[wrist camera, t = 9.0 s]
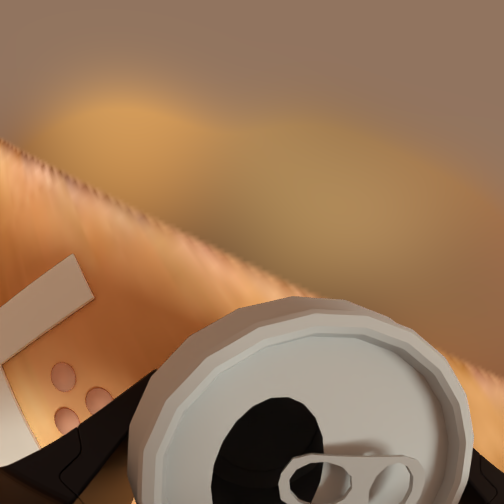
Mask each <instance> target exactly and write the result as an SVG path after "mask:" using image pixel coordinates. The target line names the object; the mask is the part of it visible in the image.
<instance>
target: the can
mask: <svg viewBox="0 0 504 504" xmlns="http://www.w3.org/2000/svg"><path fill="white" fill-rule="evenodd" d="M473 441H474V434H473V428H472V422H471V416H470V411H469V405H468V400H467V396H466V393H465V392H464V390H463V388H462V386H461V384H460V382H459V381H458V379H457V377H456V375H455V374H454V372H453V370H452V368H451V367H450V365H449V363H448V361H447V360H446V358H445V357H444V356H443V355H441V354H440V353H439V352H438V351H437V350H436V349H435V348H433V347H432V346H431V345H430V344H429V343H428V342H426V341H425V340H424V339H423V338H422V337H421V336H419V335H418V334H417V333H416V332H415V331H413V330H412V329H410V328H408V327H405V326H402V325H400V324H397V323H395V322H394V321H393V320H392V319H390V318H389V317H387V316H384V315H382V314H379V313H376V312H374V311H371V310H368V309H366V308H364V307H361V306H359V305H356V304H353V303H351V302H348V301H346V300H339V299H323V298H309V297H295V296H292V297H287V298H283V299H279V300H274V301H270V302H266V303H261V304H257V305H252V306H248V307H243V308H239V309H237V310H235V311H233V312H232V313H230V314H228V315H226V316H225V317H223V318H221V319H219V320H217V321H216V322H214V323H212V324H210V325H209V326H207V327H205V328H203V329H201V330H200V331H198V332H196V333H194V334H192V335H191V336H189V337H188V338H187V339H186V340H185V341H184V342H183V343H182V344H181V345H180V347H179V348H178V349H177V350H176V351H175V352H174V353H173V354H172V355H171V356H170V357H169V358H168V359H167V360H166V361H165V363H164V364H163V365H162V366H161V367H160V368H159V369H158V370H157V371H156V372H155V373H154V374H153V375H152V376H151V378H150V380H149V382H148V385H147V387H146V389H145V391H144V393H143V396H142V398H141V400H140V402H139V405H138V407H137V409H136V411H135V414H134V416H133V418H132V420H131V423H130V425H129V440H128V460H127V477H128V480H129V483H130V486H131V489H132V492H133V495H134V498H135V501H136V504H458V503H459V500H460V498H461V496H462V493H463V491H464V489H465V486H466V484H467V481H468V478H469V472H470V465H471V458H472V450H473Z"/></svg>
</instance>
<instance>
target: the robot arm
mask: <svg viewBox="0 0 504 504" xmlns="http://www.w3.org/2000/svg"><path fill="white" fill-rule="evenodd" d="M157 370H158V369H155V370H153V371H151V372H150V373H149V374H147V375H146V376H145V377H143V378H142V379H141V380H139V381H138V382H137V383H135V384H134V385H133V386H131V387H130V388H129V389H127V390H126V391H125V392H123V393H122V394H121V395H119V396H118V397H117V398H115V399H114V400H113V401H111V402H110V403H108V404H107V405H106V406H104V407H103V408H102V409H100V410H99V411H98V412H96V413H95V414H93V415H92V416H91V417H89V418H88V419H86V420H85V421H84V422H82V423H81V424H79V425H78V427H75V428H74V429H72V430H71V431H69V432H68V433H67V434H65V435H64V436H62V437H61V438H59V439H57V440H56V441H54V442H52V443H51V444H49V445H47V446H45V447H44V448H42V449H40V450H38V451H36V452H34V453H32V454H30V455H28V456H26V457H24V458H22V459H20V460H18V461H16V462H14V463H11V464H9V465H6V466H3V467H0V504H131V503H132V501H133V498H134V495H133V492H132V489H131V486H130V483H129V480H128V477H127V460H128V440H129V425H130V423H131V420H132V418H133V416H134V414H135V411H136V409H137V407H138V405H139V402H140V400H141V398H142V396H143V393H144V391H145V389H146V387H147V385H148V382H149V380H150V378H151V376H152V375H153V374H154V373H155V372H156V371H157ZM458 504H504V473H503V472H501V471H500V470H499V469H497V468H496V467H495V466H494V465H492V464H491V463H490V462H489V461H488V460H486V459H485V458H484V457H483V456H482V455H480V454H479V453H478V452H477V451H476V450H475V449H474V448H473V450H472V458H471V465H470V472H469V478H468V481H467V484H466V486H465V489H464V491H463V493H462V496H461V498H460V500H459V503H458Z"/></svg>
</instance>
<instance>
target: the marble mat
mask: <svg viewBox="0 0 504 504" xmlns="http://www.w3.org/2000/svg"><path fill="white" fill-rule="evenodd" d="M93 299H95V297H94V295H93V293H92V291H91V289H90V287H89V285H88V283H87V281H86V279H85V277H84V275H83V273H82V270H81V268H80V266H79V264H78V262H77V259H76V257H75V255H74V254H73V253H72V254H71V255H70V256H68V257H67V258H65V259H64V260H62V261H61V262H60V263H58V264H57V265H55V266H54V267H53V268H51V269H50V270H49V271H47V272H46V273H44V274H43V275H42V276H40V277H39V278H38V279H36V280H35V281H34V282H32V283H31V284H30V285H28V286H27V287H26V288H24V289H23V290H22V291H21V292H19V293H18V294H17V295H15V296H14V297H13V298H12V299H10V300H9V301H8V302H7V303H5V304H4V305H3V306H2V307H0V467H3V466H6V465H9V464H11V463H14V462H16V461H18V460H20V459H22V458H24V457H26V456H28V455H30V454H32V453H34V452H36V451H38V450H40V449H42V448H41V447H40V445H39V443H38V442H37V440H36V438H35V436H34V434H33V432H32V431H31V429H30V427H29V425H28V423H27V421H26V419H25V417H24V415H23V413H22V411H21V409H20V407H19V405H18V403H17V400H16V398H15V396H14V394H13V392H12V389H11V387H10V385H9V382H8V380H7V377H6V375H5V372H4V370H3V367H2V364H4V363H5V362H6V361H8V360H9V359H10V358H12V357H13V356H14V355H16V354H17V353H18V352H20V351H21V350H22V349H24V348H25V347H27V346H28V345H29V344H31V343H32V342H33V341H35V340H36V339H38V338H39V337H40V336H42V335H43V334H45V333H46V332H47V331H49V330H50V329H52V328H53V327H54V326H56V325H57V324H59V323H60V322H61V321H63V320H64V319H66V318H67V317H69V316H70V315H71V314H73V313H74V312H76V311H77V310H79V309H80V308H82V307H83V306H85V305H86V304H87V303H89V302H90V301H92V300H93ZM51 379H52V383H53V385H54V386H55V387H56V388H57V389H58V390H60V391H63V392H66V391H69V390H71V389H72V388H73V387H74V385H75V381H76V377H75V373H74V370H73V369H72V367H71V366H69V365H68V364H66V363H58V364H56V365H55V366H54V367H53V369H52V372H51ZM111 401H113V399H112V397H111V395H110V394H109V393H108V392H107V391H106V390H104V389H101V388H95V389H92V390H91V391H90V392H89V393H88V394H87V397H86V405H87V408H88V410H89V411H90V413H91V414H95V413H96V412H98V411H99V410H100V409H102V408H103V407H104V406H106V405H107V404H108V403H110V402H111ZM55 424H56V426H57V428H58V430H59V431H60V432H61V433H62V434H63V435H65V434H67V433H68V432H69V431H71V430H72V429H74V428H75V427H78V425H79V424H80V421H79V419H78V417H77V415H76V414H75V413H74V412H73V411H72V410H70V409H66V408H64V409H60V410H59V411H58V412H57V413H56V415H55Z"/></svg>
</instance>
